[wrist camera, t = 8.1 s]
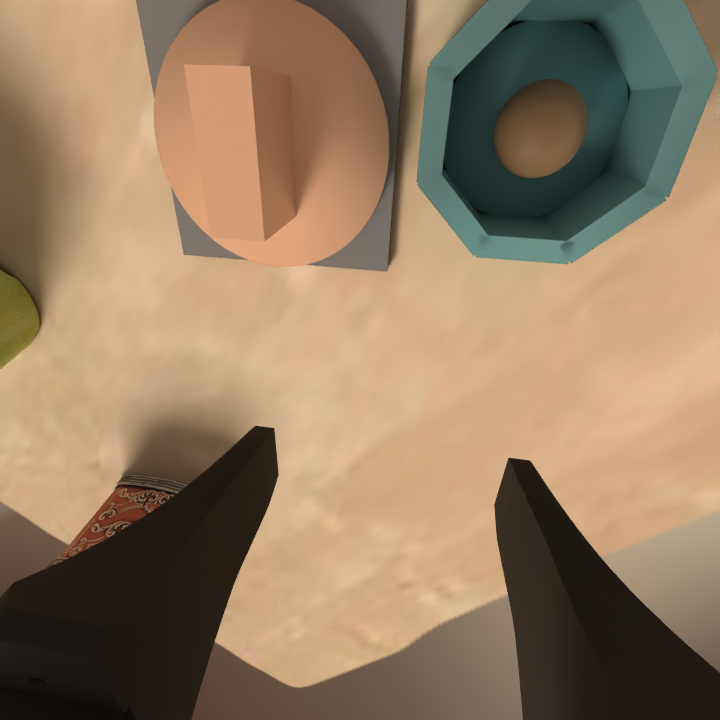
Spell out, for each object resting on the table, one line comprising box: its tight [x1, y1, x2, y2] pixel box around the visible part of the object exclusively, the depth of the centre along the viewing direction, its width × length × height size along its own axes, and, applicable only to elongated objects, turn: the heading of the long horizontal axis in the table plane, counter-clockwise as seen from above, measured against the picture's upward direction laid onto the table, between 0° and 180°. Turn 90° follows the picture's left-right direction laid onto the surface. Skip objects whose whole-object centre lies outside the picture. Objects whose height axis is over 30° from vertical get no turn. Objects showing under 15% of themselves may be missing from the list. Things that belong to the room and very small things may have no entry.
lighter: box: [47, 474, 187, 568], centre depth 27 cm, size 8×3×10 cm, turn 81°
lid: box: [154, 0, 390, 267], centre depth 15 cm, size 10×10×5 cm
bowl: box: [417, 0, 717, 264], centre depth 15 cm, size 8×8×4 cm
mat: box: [136, 0, 408, 271], centre depth 18 cm, size 10×10×1 cm
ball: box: [493, 79, 588, 178], centre depth 14 cm, size 3×3×3 cm
